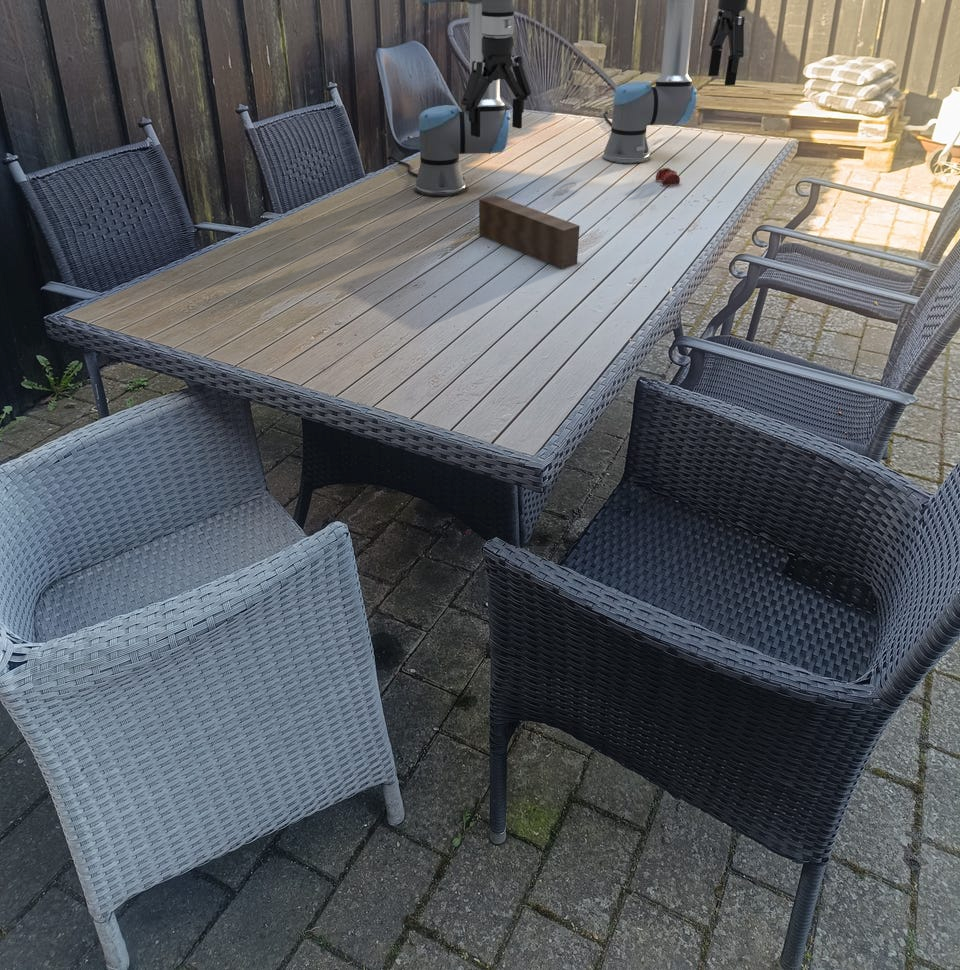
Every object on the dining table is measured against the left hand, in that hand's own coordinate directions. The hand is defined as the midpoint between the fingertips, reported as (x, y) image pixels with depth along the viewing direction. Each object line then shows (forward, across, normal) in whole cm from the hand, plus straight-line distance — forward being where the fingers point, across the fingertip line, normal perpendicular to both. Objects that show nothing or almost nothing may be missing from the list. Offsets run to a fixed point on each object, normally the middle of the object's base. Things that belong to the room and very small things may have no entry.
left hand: (496, 131), depth 209 cm
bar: (+26, 0, -12) cm, 29 cm away
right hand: (-5, +72, -13) cm, 73 cm away
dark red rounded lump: (+26, +73, +3) cm, 78 cm away
